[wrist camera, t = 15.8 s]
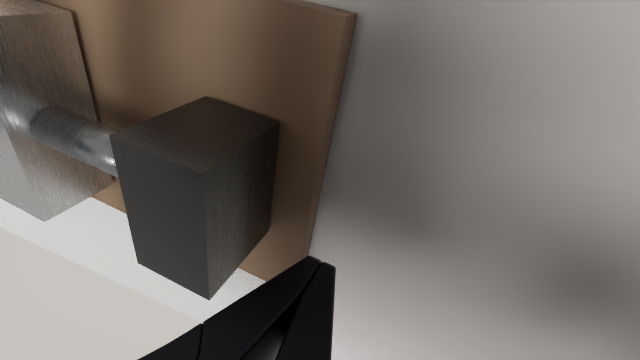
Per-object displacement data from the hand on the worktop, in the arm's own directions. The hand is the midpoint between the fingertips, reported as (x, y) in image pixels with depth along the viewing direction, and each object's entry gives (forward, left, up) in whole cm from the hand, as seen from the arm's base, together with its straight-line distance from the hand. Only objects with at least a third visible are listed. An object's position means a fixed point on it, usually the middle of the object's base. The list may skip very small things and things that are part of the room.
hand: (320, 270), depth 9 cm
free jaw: (+6, +6, -3) cm, 10 cm away
